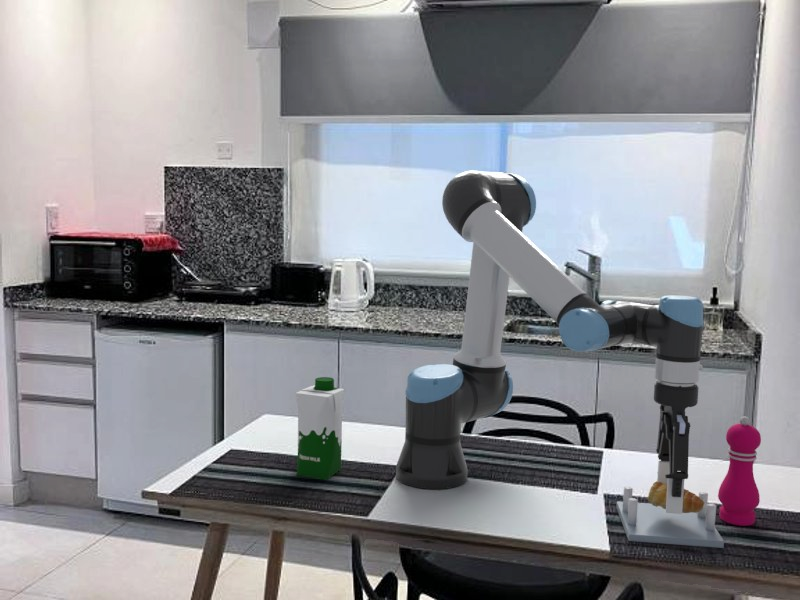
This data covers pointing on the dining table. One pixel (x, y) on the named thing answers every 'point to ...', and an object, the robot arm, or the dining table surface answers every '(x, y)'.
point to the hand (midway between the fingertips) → (668, 503)
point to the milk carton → (319, 429)
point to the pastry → (660, 493)
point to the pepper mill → (740, 475)
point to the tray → (668, 523)
